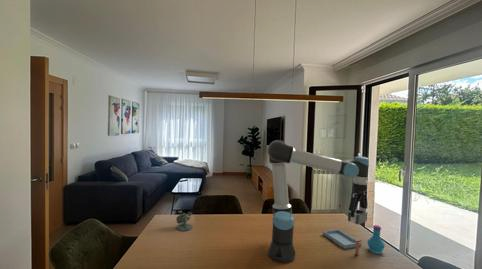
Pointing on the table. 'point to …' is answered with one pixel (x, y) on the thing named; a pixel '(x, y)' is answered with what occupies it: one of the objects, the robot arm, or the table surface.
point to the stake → (357, 246)
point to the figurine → (182, 219)
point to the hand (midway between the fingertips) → (357, 220)
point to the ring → (359, 216)
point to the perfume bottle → (376, 241)
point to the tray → (341, 238)
